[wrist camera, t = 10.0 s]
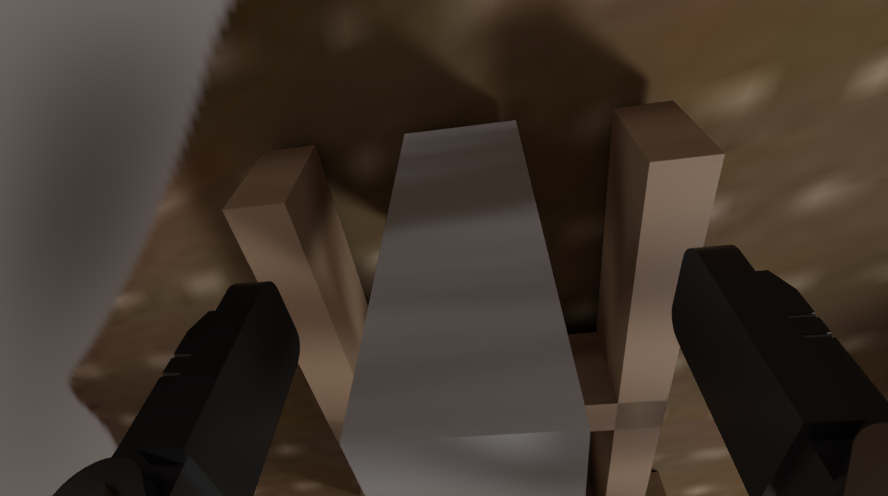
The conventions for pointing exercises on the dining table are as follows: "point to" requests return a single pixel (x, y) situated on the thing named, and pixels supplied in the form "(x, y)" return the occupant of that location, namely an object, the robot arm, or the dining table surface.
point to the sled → (486, 310)
